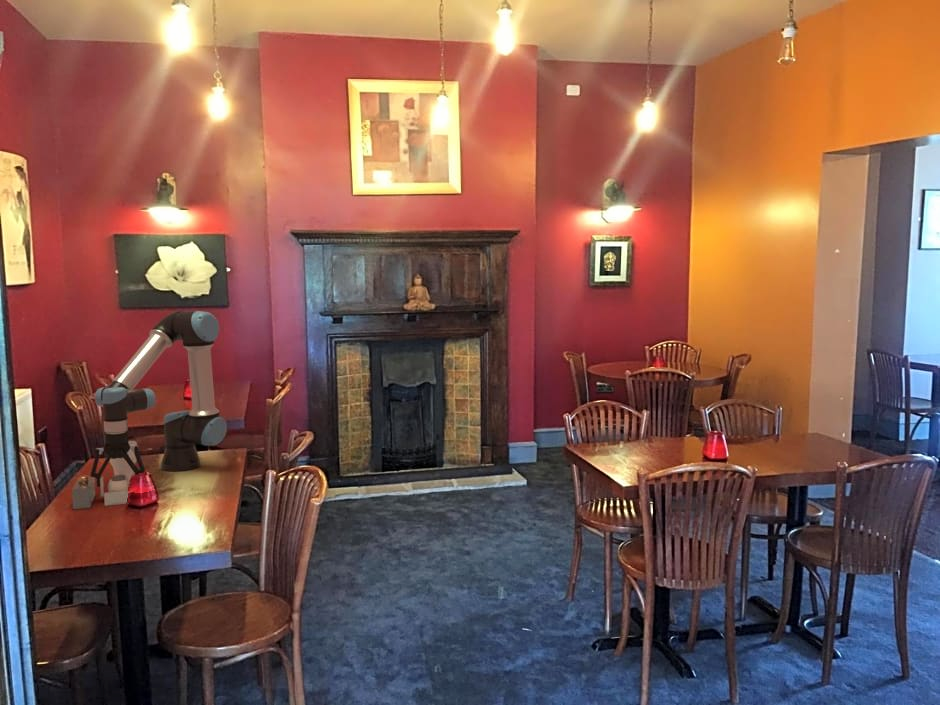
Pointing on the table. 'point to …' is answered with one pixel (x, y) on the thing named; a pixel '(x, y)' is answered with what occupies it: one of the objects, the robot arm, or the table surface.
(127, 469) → the cup
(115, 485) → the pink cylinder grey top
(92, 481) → the motor bracket
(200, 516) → the table surface
